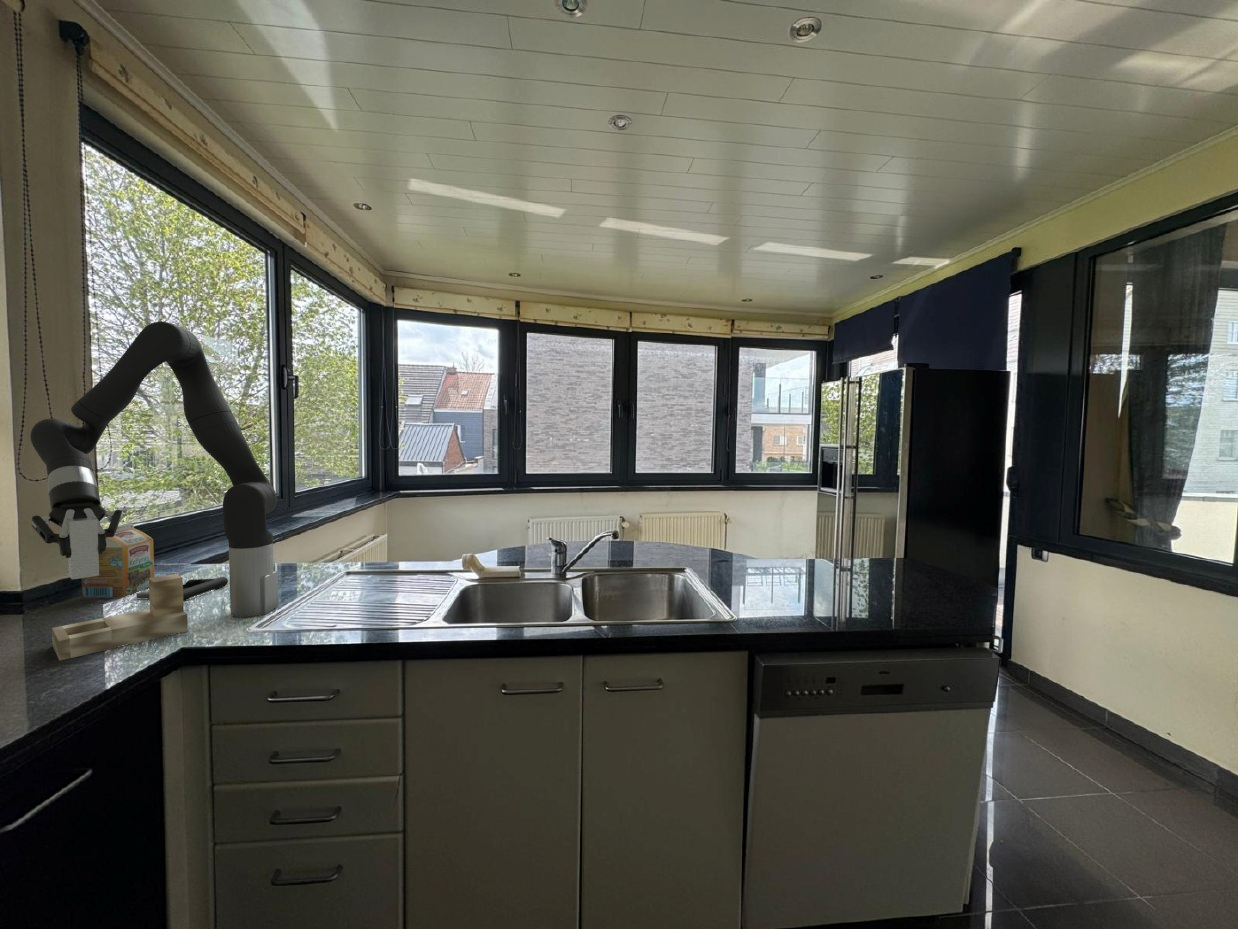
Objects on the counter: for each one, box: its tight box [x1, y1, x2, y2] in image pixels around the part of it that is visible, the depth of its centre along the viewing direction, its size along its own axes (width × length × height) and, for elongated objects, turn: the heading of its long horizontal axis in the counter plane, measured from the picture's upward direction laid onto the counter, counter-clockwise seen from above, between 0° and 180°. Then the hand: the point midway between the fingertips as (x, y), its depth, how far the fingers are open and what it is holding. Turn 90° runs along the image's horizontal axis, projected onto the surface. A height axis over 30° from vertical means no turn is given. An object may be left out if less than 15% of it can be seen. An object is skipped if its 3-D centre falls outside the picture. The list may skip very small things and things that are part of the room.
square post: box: [67, 517, 99, 580], centre depth 108 cm, size 4×4×12 cm
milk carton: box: [80, 523, 156, 599], centre depth 145 cm, size 10×11×19 cm
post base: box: [51, 573, 189, 661], centre depth 113 cm, size 20×11×12 cm, turn 143°
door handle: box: [135, 576, 229, 602], centre depth 144 cm, size 3×20×16 cm
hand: (84, 553), depth 106 cm, fingers closed on square post, 4 cm apart
